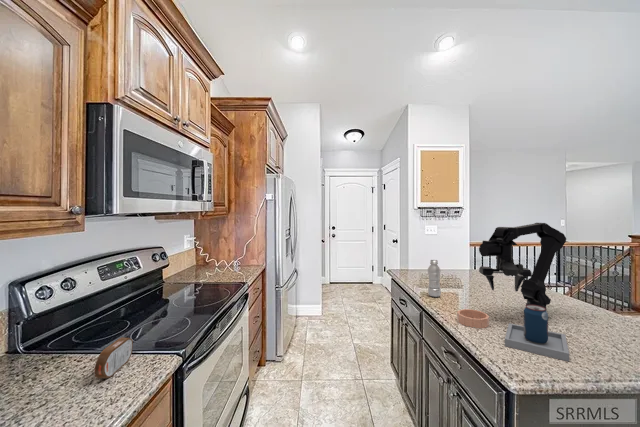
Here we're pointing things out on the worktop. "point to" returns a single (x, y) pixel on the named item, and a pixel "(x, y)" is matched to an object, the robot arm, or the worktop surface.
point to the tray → (551, 348)
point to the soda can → (536, 324)
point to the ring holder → (473, 318)
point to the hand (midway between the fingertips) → (504, 290)
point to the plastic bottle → (434, 279)
